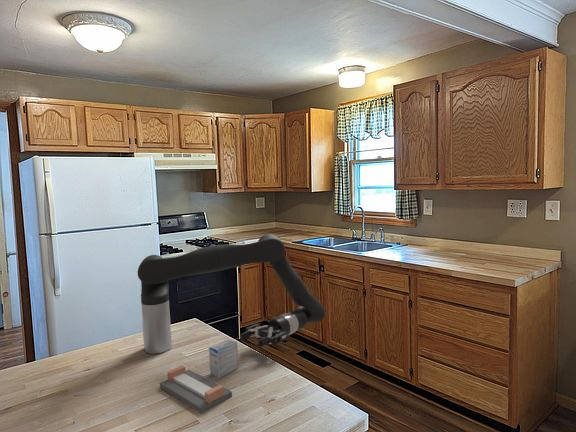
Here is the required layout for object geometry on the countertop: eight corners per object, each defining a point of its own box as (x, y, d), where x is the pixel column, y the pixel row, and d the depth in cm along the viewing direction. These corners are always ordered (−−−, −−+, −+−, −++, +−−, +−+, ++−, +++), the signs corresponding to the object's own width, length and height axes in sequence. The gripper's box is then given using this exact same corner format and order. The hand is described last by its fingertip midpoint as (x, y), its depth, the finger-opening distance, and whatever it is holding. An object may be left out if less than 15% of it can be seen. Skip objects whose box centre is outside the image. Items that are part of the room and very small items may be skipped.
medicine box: (229, 364, 127) (227, 338, 126) (238, 368, 124) (237, 341, 123) (209, 374, 121) (208, 347, 120) (219, 378, 118) (218, 350, 117)
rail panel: (160, 387, 114) (159, 374, 114) (189, 374, 121) (188, 362, 121) (201, 413, 101) (200, 399, 100) (231, 396, 108) (231, 382, 108)
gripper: (268, 311, 147) (235, 324, 135) (298, 319, 137) (264, 334, 125) (269, 331, 147) (236, 346, 135) (298, 340, 138) (265, 357, 126)
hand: (249, 340), depth 130 cm, fingers open, 8 cm apart
